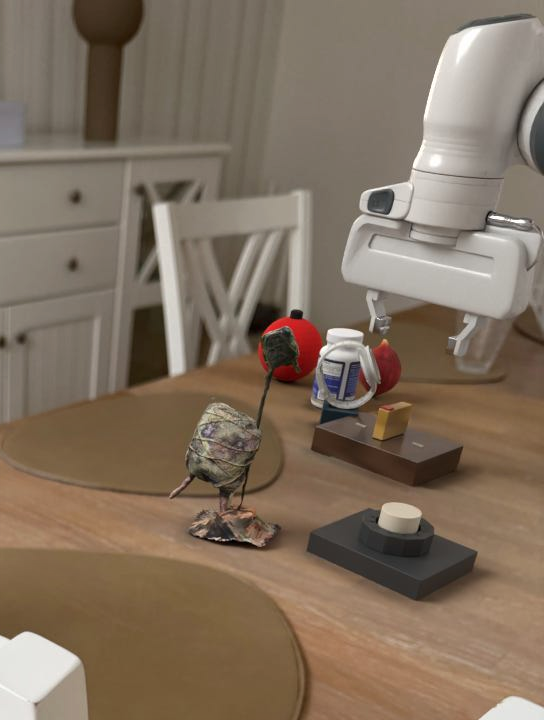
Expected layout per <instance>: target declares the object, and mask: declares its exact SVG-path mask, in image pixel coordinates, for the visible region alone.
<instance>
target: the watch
mask: <svg viewBox="0 0 544 720" xmlns="http://www.w3.org/2000/svg"><path fill="white" fill-rule="evenodd" d="M345 346H346V347H351V348H352V347H353V348H356V349H357V351H358V355H359V360H360V364H361V367H362V370H363V373H364V376H365V378H366V381H367V383H368V384H369V385H370V386H371V389H370V391H369V392H366V393H365V395H364V396H361V397H359V398H358V399H354V401H351V400H343V399H336V398H333V397H331V396H330V391H329V390H328V388H327V386H326V383H325V380H324V376H323V369H322V366H323V363H322V361H323V360H324V359H325V357H326V356H327V355H328V354H330V353H331V351H332V352H333V351H335V350H337V349H338V348H344V347H345ZM372 350H373V349H372V348H371V345H366V346H365V344H363V342H362V343H360V342H358V341H353V340H346V341H345V340H344V341H340V342H337V343H335V344H333V345H331V346H330V347H328V348H327V349H326V350H325V351H324V352H323V354H322V355H321V358H320V359H319V362H318V367H317V366H316V367H315V374H316V378H317V384H318V387H319V390H320V393H321V395H322V397H323V399H324V402H323V407H322V409H321V413H320V418H319V424H318V425H320V424H324V423H327V422H330V421H334V420H337V419H340V418H344V417H347V416H350V415H351V416H358V413H359V407H361V406H363V405H365V404H366V403H367V402H368V401H370V400H371V398H373V397H372V396H373V395H374V393H375V392H376V387H377V384H381V379H380V374H379V370H378V367H377V364H376V361H375V358H374V355H373V352H372Z"/></svg>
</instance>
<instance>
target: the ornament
mask: <svg viewBox="0 0 544 720" xmlns="http://www.w3.org/2000/svg"><path fill="white" fill-rule="evenodd" d="M303 316H304V312H303V310H302V309H297V308H294V309H291V311H290V314H289V316H285V317H281V318H278V319H277V320H275V321H274V322H272V323H271V324H270V325H269V326H268V327H267V328H266V329H265V330H264V332H263V333H262V336H263V335H264V334H267V333H268V332H270V331H274V330H277V329H280V328H282V327H284V326H288V327H289V328H291V330H292V332H293V334H294V337H295V340H296V343H297V345H298V347H299V348H298V350H299V357H298V359H297V363H298V365H299V368H300V370H301V372H300V373H297V372H296V371H295V369H294V367H292V366H291V365H289V366H288V367H286V366H280V367H279V368H277V369H275V370H274V372H273V377H272V378H274V379H275V380H279V381H282V382H294V381H298V380H302V379H304V378H305V377H307V376H308V375H310V374H311V373H312V372H313V371H314V370H315V369H316V368H317V364H318V358H319V353H320V350H321V349H322V348H323V341H322V337H321V333H320V332H319V330H318V328H317V327H316V325H314V324H313V323H312V322H311V321H309V319H306V318H304V317H303ZM262 336H261V337H262ZM258 358H259V362H260V364H261V366H262V368H263V369H264V371H265V372H266V373H268V370H269V366H266V365H265V362H264V357H263V355H262V347H261V343H260V342H259V344H258Z"/></svg>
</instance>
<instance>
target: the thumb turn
mask: <svg viewBox="0 0 544 720" xmlns="http://www.w3.org/2000/svg"><path fill="white" fill-rule="evenodd" d="M412 408H413V404H412V403H409V402H407V401H400V402H397V403H392V404H389V405H388V404H385V405H381V407H379V408H378V412H377V415H376V416H377V419H376V424H375V428H374V432H373V436H372V437H374V438H377V439H379V440H385V439H388V438H391V437H394V436H397V435H400V434H403V433H405V432H406V428H407V427H408V423H409V421H410V416H411V413H412Z"/></svg>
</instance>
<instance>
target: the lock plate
mask: <svg viewBox="0 0 544 720" xmlns="http://www.w3.org/2000/svg"><path fill="white" fill-rule="evenodd" d="M376 419H377V415H373V414H371V413H367V412H366V411H365V412H364V411H360V412H358V416H351V415H350V416H347V417H344V418H340V419H337V420H334V421H330V422H327V423H324V424H320V425H319V424H317V425H315V427H314V431H313V432H314V433H313V436H312V440H311V441H312V442H311V446H310V450H312V451H314V452H316V453H320V454H322V455H324V456H327V457H329V458H331V457H332V458H334V459H336V460H340V461H342V462H345V463H348V464H350V465H353V466H355V467H358V468H361V469H363V470H366V471H369V472H372V473H375V474H377V475H379V476H382V477H385V478H387V479H390V480H393V481H395V482H398V483H400V484H404V485H406V486H409V487H411V488H413V487H415V486H419V485H421V484H424V483H426V482H429V481H432V480H434V479H437V478H439V477H442V476H444V475H447V474H449V473H451V472H454V471H456V470H458V467H459V463H460V459H461V457H462V453H463V449H464V445H463V444H460V443H458V442H454V441H451V440H448V439H445V438H442V437H439V436H437V435H433V434H430V433H427V432H426V431H425V432H424V431H421V430H419V429H415V428H412V427H409V426H407V428H406V432H405V433H403V434H400V435H397V436H394V437H391V438H388V439H385V440H379V439H377V438H374V437H372V436H373V432H374V428H375V424H376Z"/></svg>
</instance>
